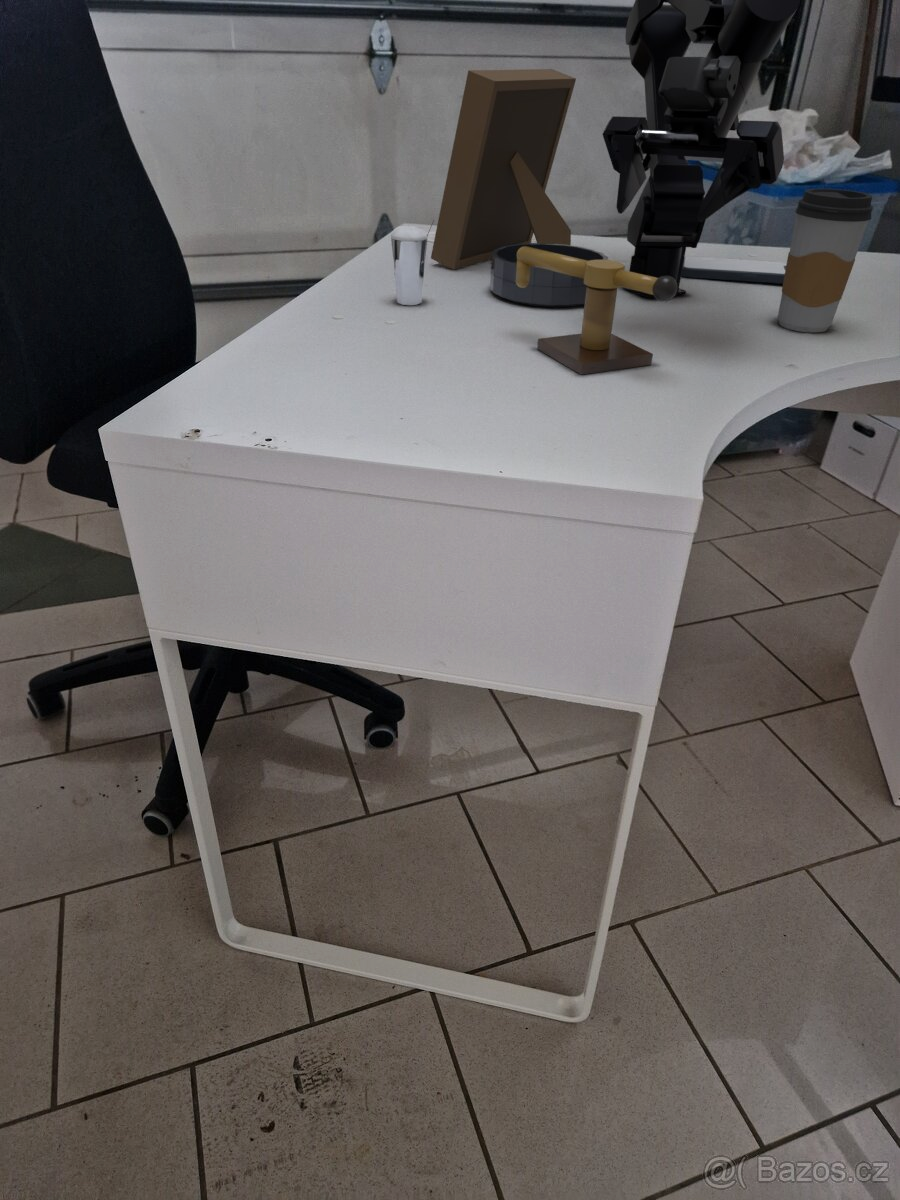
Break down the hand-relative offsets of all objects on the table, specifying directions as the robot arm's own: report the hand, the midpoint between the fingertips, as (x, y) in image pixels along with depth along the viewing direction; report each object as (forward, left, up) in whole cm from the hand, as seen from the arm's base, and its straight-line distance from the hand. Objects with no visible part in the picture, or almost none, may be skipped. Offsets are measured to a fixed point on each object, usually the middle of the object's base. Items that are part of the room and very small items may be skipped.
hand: (658, 214), depth 87 cm
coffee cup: (-25, +1, -14) cm, 29 cm away
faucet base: (+7, +2, -14) cm, 16 cm away
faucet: (+8, 0, -9) cm, 11 cm away
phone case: (-35, -23, -14) cm, 44 cm away
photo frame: (-7, -42, -14) cm, 45 cm away
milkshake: (+17, -25, -14) cm, 34 cm away
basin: (-2, -23, -14) cm, 27 cm away
